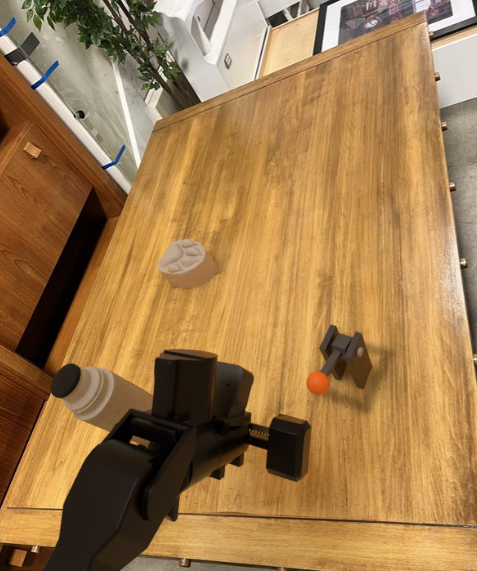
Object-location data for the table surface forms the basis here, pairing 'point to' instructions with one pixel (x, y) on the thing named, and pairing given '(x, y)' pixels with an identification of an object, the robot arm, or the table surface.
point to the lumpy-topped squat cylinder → (187, 264)
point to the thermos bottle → (99, 396)
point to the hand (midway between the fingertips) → (263, 416)
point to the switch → (328, 366)
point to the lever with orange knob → (349, 357)
